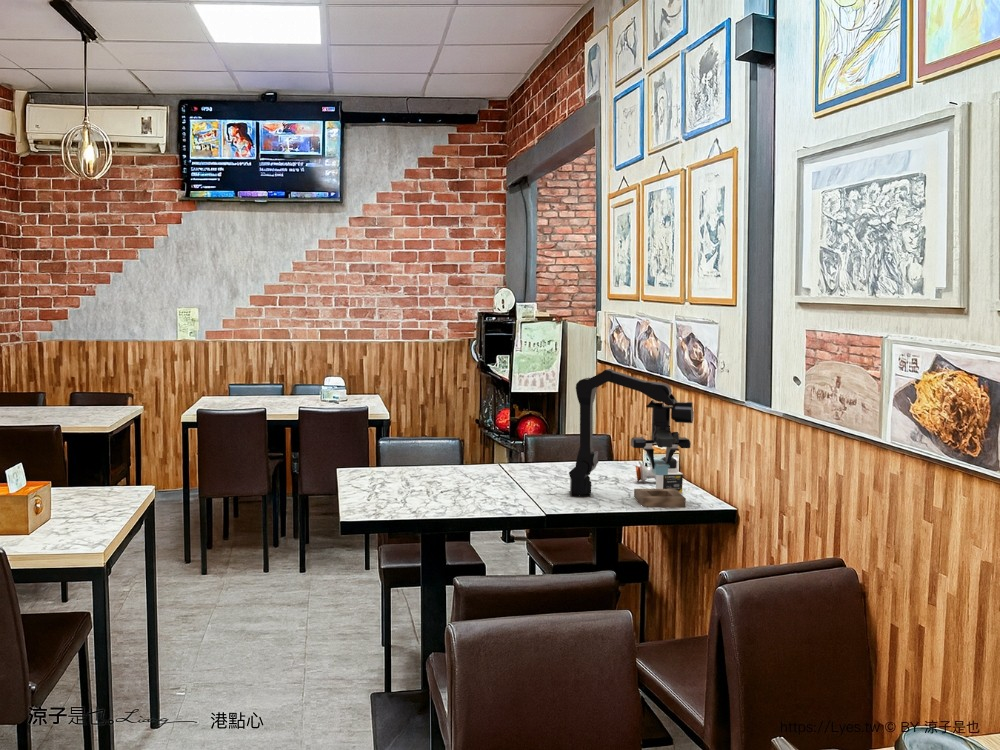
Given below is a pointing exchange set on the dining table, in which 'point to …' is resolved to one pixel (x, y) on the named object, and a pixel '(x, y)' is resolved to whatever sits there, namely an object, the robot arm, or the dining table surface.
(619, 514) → the dining table surface
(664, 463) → the block
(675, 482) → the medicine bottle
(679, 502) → the brown square frame
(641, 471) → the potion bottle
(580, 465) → the robot arm
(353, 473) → the dining table surface
